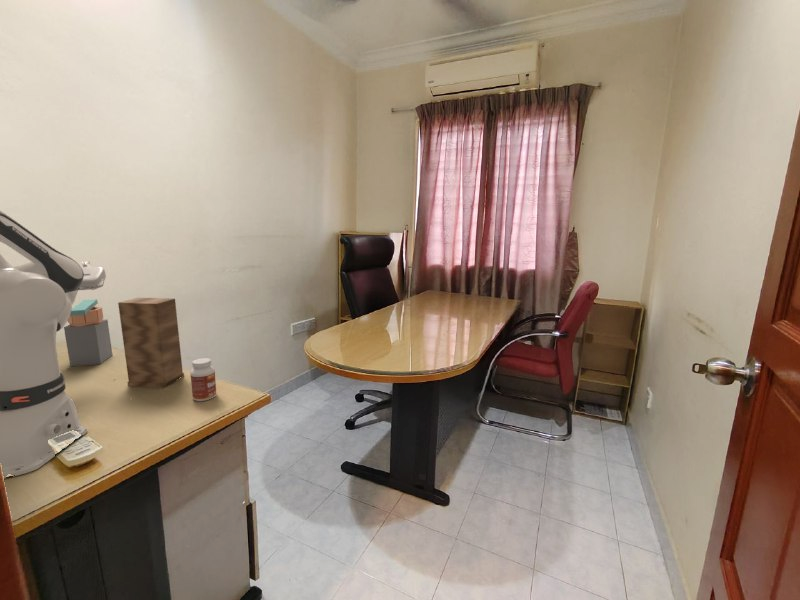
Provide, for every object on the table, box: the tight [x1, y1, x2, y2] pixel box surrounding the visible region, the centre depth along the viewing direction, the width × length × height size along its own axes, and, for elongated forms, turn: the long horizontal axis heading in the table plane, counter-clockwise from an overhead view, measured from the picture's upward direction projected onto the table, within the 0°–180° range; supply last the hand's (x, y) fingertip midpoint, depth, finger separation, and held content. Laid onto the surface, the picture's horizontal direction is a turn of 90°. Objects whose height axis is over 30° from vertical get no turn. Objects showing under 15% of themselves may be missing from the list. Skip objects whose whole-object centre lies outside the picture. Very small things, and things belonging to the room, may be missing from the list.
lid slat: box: [70, 298, 99, 316], centre depth 131 cm, size 20×4×2 cm, turn 29°
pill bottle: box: [190, 357, 217, 402], centre depth 107 cm, size 6×6×11 cm
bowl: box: [67, 306, 104, 327], centre depth 131 cm, size 9×9×5 cm
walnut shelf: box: [117, 297, 185, 389], centre depth 116 cm, size 12×9×26 cm
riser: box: [63, 319, 113, 367], centre depth 133 cm, size 9×9×14 cm
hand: (67, 262), depth 116 cm, fingers open, 8 cm apart
